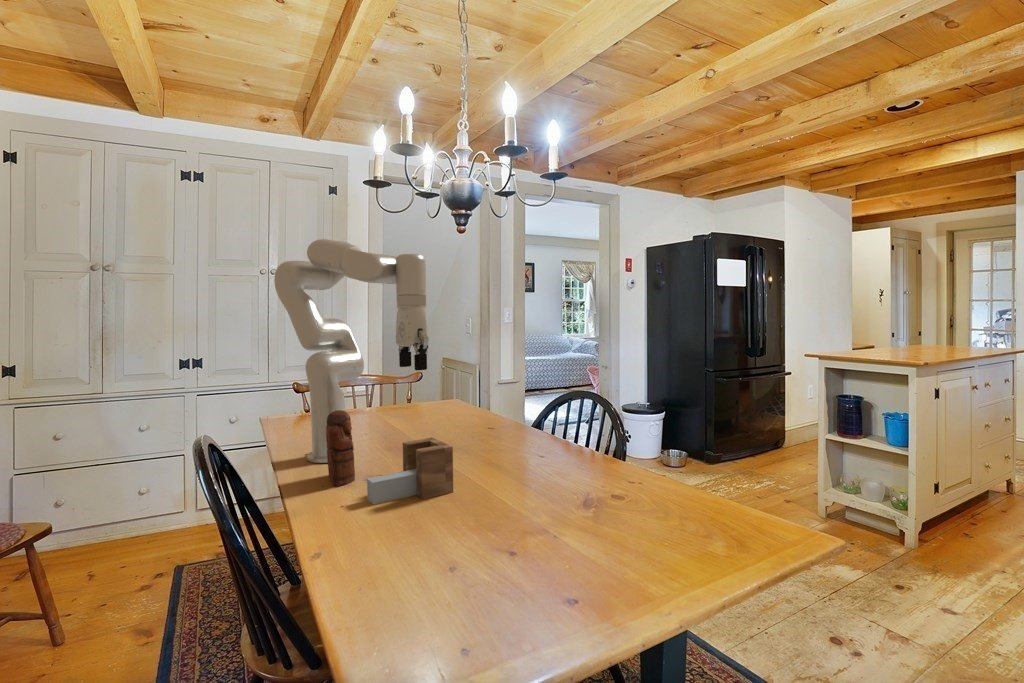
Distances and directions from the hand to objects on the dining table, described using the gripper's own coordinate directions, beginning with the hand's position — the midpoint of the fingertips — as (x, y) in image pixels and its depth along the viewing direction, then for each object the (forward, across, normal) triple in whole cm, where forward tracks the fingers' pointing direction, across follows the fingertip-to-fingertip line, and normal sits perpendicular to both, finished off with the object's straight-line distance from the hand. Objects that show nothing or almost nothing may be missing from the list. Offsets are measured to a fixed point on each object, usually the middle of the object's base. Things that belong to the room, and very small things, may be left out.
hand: (412, 368), depth 134 cm
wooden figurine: (+28, -8, -17) cm, 34 cm away
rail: (+28, +12, -9) cm, 32 cm away
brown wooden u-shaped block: (+28, +12, -2) cm, 31 cm away
